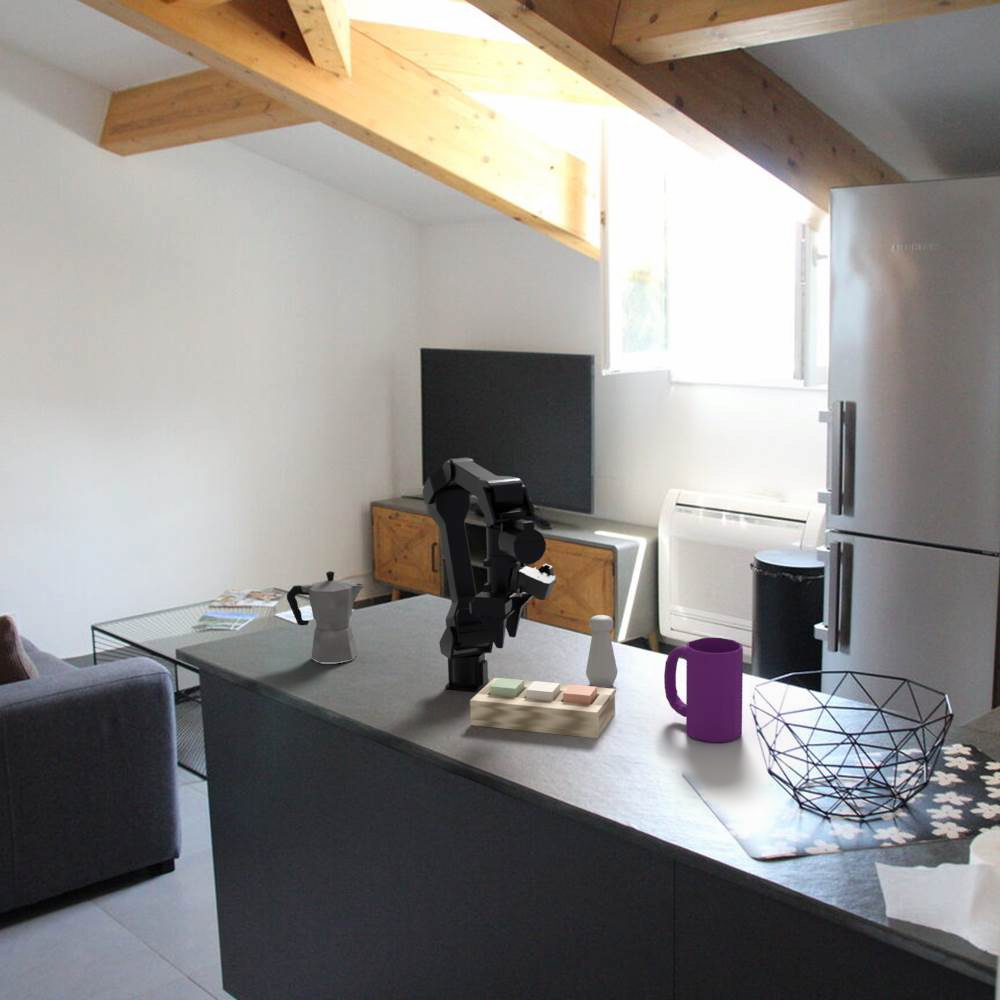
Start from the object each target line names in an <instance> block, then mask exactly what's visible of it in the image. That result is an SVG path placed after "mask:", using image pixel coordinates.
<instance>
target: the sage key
mask: <svg viewBox="0 0 1000 1000" xmlns="http://www.w3.org/2000/svg"><path fill="white" fill-rule="evenodd" d="M497 678H498V679H497V680H496V681H495V682H494V683H493V684H492V685H491V686H490V695H495V696H506V697H516V698H517V697H518V696H519V695H520V694H521V693H522V692H523V691H524V681H525V679H516V678H515V679H513V678H505V677H504V678H503V677H497Z"/></svg>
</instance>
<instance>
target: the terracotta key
mask: <svg viewBox="0 0 1000 1000" xmlns="http://www.w3.org/2000/svg"><path fill="white" fill-rule="evenodd" d="M569 685H570V686H569V687H568V688H567V689H566V690H565V692H564V693H563V702H568V703H579V704H589V705H592V704H593V702H594V701H595V700H596V699H597V687H594V686H592V685H580V684H569Z"/></svg>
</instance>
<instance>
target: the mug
mask: <svg viewBox="0 0 1000 1000" xmlns="http://www.w3.org/2000/svg"><path fill="white" fill-rule="evenodd" d="M681 656H682V657H683V659H684V660H685V661H686V666H685V667H686V672H685V673H686V674H685V676H686V680H685V681H686V689H685V691H686V698H685V701H686V703H685V702H683V700H682V699H681V697H680V696H679V694H678V690H677V670H678V669H677V666H678V662H679V658H680V657H681ZM743 658H744V649H743V644H742V643H740V642H738V641H736V640H734V639H728V638H723V637H701V638H698V639H694V640H690V641H688V642H686V646H683V645H682V646H681V645H680V646H679V645H678V646H676V647H675V648H673V649H672V650H671V651H670V653H669V654H667V657H666V661H665V667H664V677H663V680H664V683H663V684H664V693H665V697H666V700H667V701H668V704H669V705H670V707H671V709H672V710H673V711H674V712H676V714H679V715H680V716H682V717H685V720H686V722H685V723H686V725H685V726H686V729H685V730H686V731H685V732H686V734H687V735H688V736H689V737H691V738H693V739H694V740H696V741H700V742H705V743H715V744H717V743H719V744H722V743H729V742H733V741H735V740H736V739H738V738H740V737H741V736H742V734H743V678H744V677H743V676H744V675H743V672H744V670H743V668H744V667H743V666H744V663H743V662H744V659H743ZM732 740H733V741H732ZM728 741H729V742H728Z"/></svg>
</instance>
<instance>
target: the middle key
mask: <svg viewBox="0 0 1000 1000" xmlns="http://www.w3.org/2000/svg"><path fill="white" fill-rule="evenodd" d="M560 684H561V683H559V682H558V683H557V682H549V681H537V680H534V682H533V683H532V684H531V685H530V686H529V687H528V688H527V689H526V698H527V699H537V700H548V701H554V700H555V699H556V698H557V697H558V696H559V695H560Z"/></svg>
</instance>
